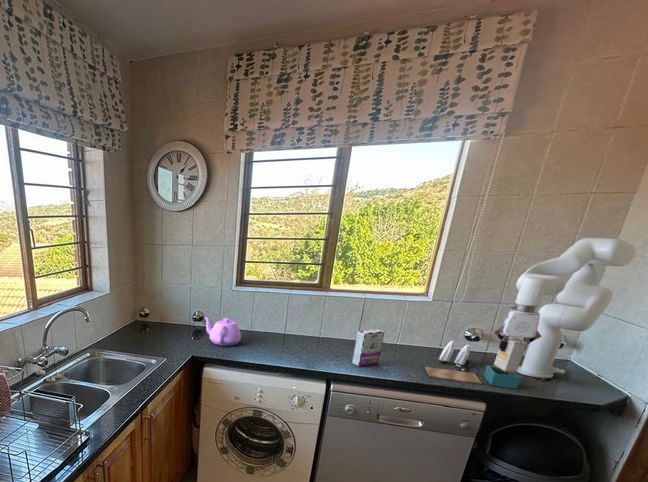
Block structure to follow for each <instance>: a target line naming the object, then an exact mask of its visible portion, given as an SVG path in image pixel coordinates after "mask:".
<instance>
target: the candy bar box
mask: <svg viewBox="0 0 648 482" xmlns="http://www.w3.org/2000/svg"><path fill="white" fill-rule="evenodd" d="M356 334H357V335H356V340H355V344H354V345H355V346H354V351H353V356H352V362H351V364H352V365H355V366H357V367H366V366H375V365H378V364H379V360H380V356H381V350H382V346H383V341H384V337H385V331H384V330H381V329H379V328H377V329H364V330H358V331H357V333H356Z"/></svg>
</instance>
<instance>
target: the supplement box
mask: <svg viewBox="0 0 648 482" xmlns="http://www.w3.org/2000/svg"><path fill="white" fill-rule="evenodd" d="M506 342H507V344H506V347H505V349H504V351H501V350H500V349H499V348H498V351H497V354H496V357H495V360H494V362H493V366H494V367H498V368H500V369H501V370H503V371H505V372H516V373H518V372H517V370H518V367H520V364H521V361H522V359H523V356H524V353H525V351H526V350H525V348H526V345H527V342H525V341H524V340H523V339H520V338H519V337H512V336H510V337H509V338H508V339H507V340H506ZM527 346H528V345H527ZM526 349H527V348H526ZM524 350H525V351H524Z"/></svg>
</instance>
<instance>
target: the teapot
mask: <svg viewBox="0 0 648 482" xmlns="http://www.w3.org/2000/svg"><path fill="white" fill-rule="evenodd" d="M203 318H204V319H205V322H206V325H205V326H206V327H205V329H206V333H207V334H208V335H209V339H210V341H211V342H212V343H213V344H215V345H219V346H227V347H232V346H235V345H237V344H238V343H239V342H241V340H242V334H241V330H240V327H239V326H238V325H237V323H236V321H233V320H231V319H230V318H228V317H224V318H222V320H217V322H215V324H214V325H213V327H212V326H211V319H210V318H209V317H207V316H203Z"/></svg>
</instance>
